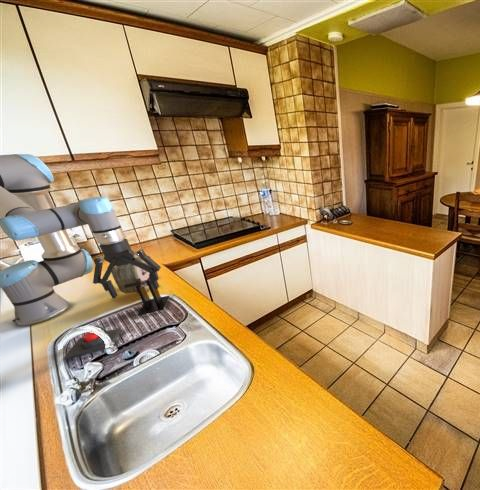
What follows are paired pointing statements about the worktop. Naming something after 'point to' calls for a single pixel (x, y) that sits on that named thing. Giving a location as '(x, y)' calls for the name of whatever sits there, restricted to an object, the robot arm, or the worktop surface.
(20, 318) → the robot arm
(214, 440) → the worktop surface
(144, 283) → the lever
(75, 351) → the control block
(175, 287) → the worktop surface
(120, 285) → the tabletop clock
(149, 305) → the bracket
